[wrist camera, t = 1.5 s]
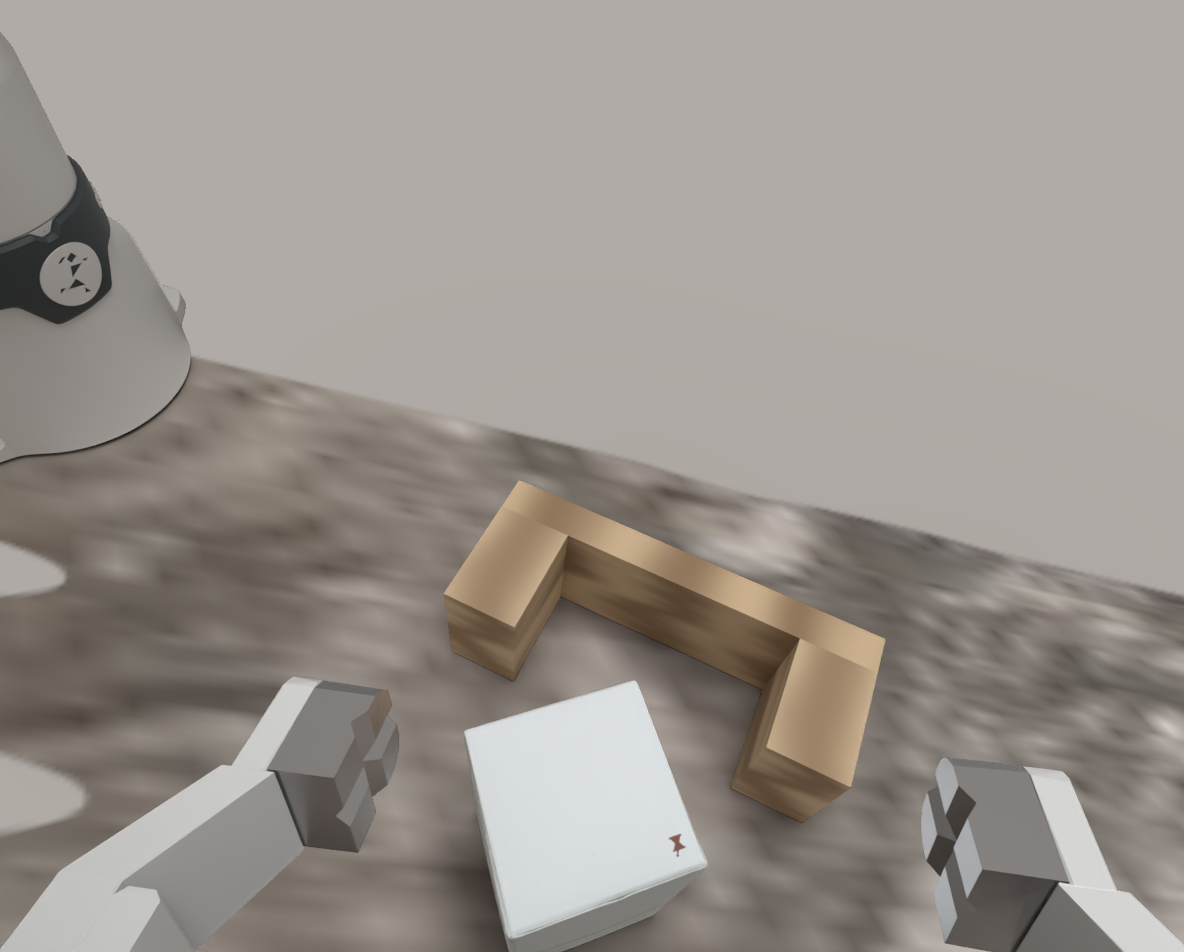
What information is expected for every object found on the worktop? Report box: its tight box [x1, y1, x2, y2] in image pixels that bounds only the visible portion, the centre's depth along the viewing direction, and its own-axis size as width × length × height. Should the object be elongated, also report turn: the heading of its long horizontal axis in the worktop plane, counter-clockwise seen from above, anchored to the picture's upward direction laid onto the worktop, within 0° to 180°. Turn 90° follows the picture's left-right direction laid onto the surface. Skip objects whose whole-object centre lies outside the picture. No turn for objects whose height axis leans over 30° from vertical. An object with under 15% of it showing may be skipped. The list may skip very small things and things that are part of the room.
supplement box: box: [464, 680, 708, 952], centre depth 32 cm, size 7×7×13 cm
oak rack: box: [444, 480, 885, 823], centre depth 41 cm, size 21×8×7 cm, turn 65°
